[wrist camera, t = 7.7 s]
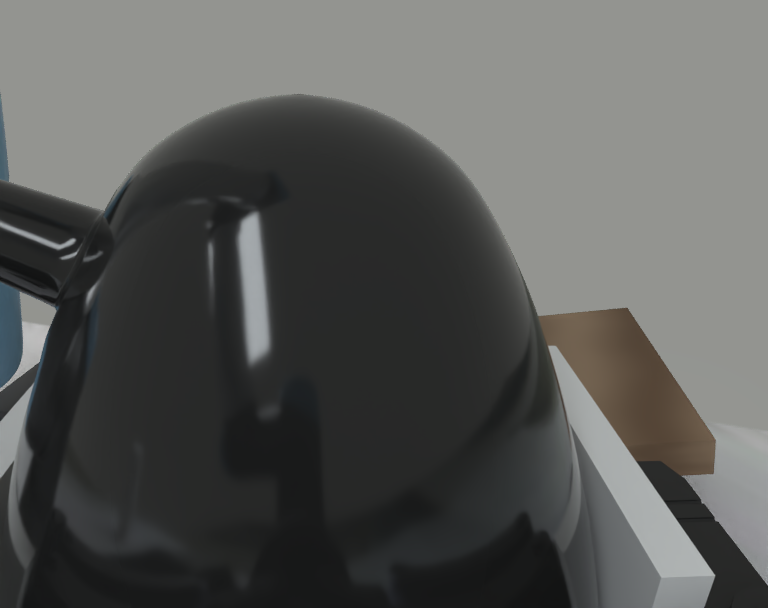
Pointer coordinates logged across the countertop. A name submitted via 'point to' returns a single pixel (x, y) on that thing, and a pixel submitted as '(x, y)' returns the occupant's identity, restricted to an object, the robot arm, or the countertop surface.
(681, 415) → the balance beam
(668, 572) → the robot arm
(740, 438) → the countertop surface
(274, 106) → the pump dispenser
